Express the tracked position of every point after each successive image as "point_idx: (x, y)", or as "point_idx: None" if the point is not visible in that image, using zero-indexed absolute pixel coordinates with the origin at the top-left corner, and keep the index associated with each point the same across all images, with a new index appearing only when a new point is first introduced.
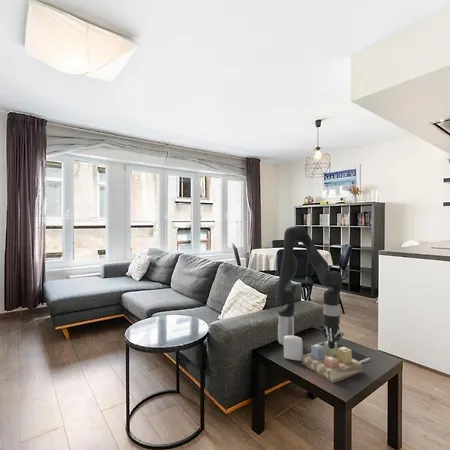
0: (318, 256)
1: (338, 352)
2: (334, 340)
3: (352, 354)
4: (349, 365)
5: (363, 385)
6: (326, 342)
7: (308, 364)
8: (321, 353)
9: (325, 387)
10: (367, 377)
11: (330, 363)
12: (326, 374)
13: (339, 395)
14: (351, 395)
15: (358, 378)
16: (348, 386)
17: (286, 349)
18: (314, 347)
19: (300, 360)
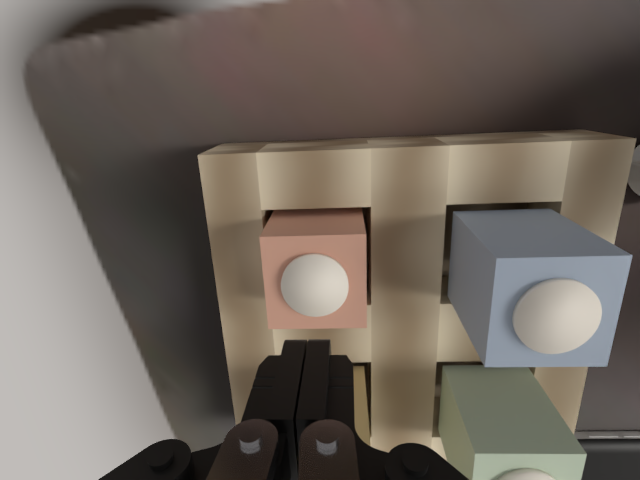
0: None
1: (355, 421)
2: (147, 466)
3: None
4: (248, 376)
5: (127, 308)
6: (555, 466)
7: (509, 136)
8: (467, 286)
9: (194, 41)
10: (193, 397)
11: (280, 229)
12: (278, 146)
13: (70, 62)
14: (49, 146)
15: (204, 345)
16: (147, 215)
17: None
18: (559, 256)
19: (634, 151)
